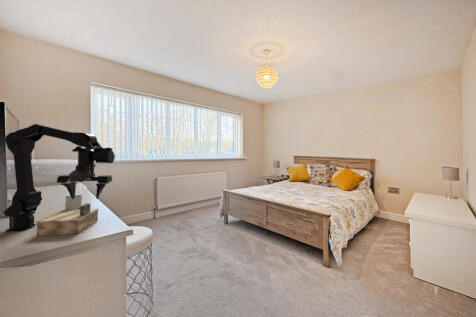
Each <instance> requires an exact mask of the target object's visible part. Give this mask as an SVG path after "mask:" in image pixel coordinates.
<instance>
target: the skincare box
mask: <svg viewBox="0 0 476 317" xmlns="http://www.w3.org/2000/svg"><path fill="white" fill-rule="evenodd" d="M82 205H83V193H81V192H80V193H75V198H74V199H72V198H71V196H70V194H69V193H67V194H65V205H64V206H65V207H64V210H77V209H80V206H82Z"/></svg>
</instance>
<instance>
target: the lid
mask: <svg viewBox="0 0 476 317" xmlns="http://www.w3.org/2000/svg"><path fill="white" fill-rule="evenodd" d="M96 211H98V212H99V211H100V210H99V208H91V203H84V204H82V206H80V209H77V210H65V209H62V210H60V211H58V212H55V213H52V214H51V215H48V216H45V217H43V218H41V219H38V220H36V221H35V224H37V223H49V222H76V221H81V220H82V219H84V218H86V217H88V216H89V215H91V214H93V213H95V212H96Z"/></svg>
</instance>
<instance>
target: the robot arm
mask: <svg viewBox="0 0 476 317" xmlns="http://www.w3.org/2000/svg"><path fill="white" fill-rule="evenodd" d="M44 136H47V137H50V138H51V137H52V138H55V139H60V140H65V141H68V142H70V143H71V144H73V145H76V147H75V148H73V149H72V150H71V151H72V153H73V152H74V153H75V152H76V153H77V165H75V169H74V170H72V171H71V172H69V174H61V175H58V176H57V177H56V184H57V183H59V184H60V185H61V186H64V187H66V190H67V191H68V194H70V196H71V198H72V199H74V198H75V194H76V186H77V182H78V183H83V182H97V183H96V192H95V193H96V194H95V195H96V199H97V200H98V199H100V196H101V194H102V192H103V190H104V188H105V187H106V185H108V184H109V183H111V182H112V181H113V177H112V175H111V174H105V175H103V174H102V175H98V176H96V173H95V168H96V167H97V166H96V164H113V163H114V162H115V159H116V158H115V156H116V155H115V152H114V151H113V148H112V147H102V145H101V144H100V142H98V139H97V137H96V135H94V134H92V133H86V132H78V131H77V132H76V131H68V130H64V129H59V128H54V127H51V126H47V125H46V124H45V125H44V124H40V123H39V124H38V123H34V124H32V125H30V126H28V127H24V128H20V129H18V130H16V131H13V132H9V133H8V134H7V135H5V139H4V141H5V144H6V147H7V149H8V150H9V152H11V154H12V155H13V164H14V174H15V185H16V191H15V193H14V194H13V196H12V199H11V205H9V206H8V207H7V208H6V209H5V210H3V214H4V216H5V217H8V218H9V219H8V221H9V223H8V224H9V228H6V229H5V232H15V231H16V232H17V231H25V230H29V229H30V228H33V227H34V226H37V223H35V215H34V212H36V211H37V210H38V207H39V206H40V205H41V203H42V201H43V198H42V191H41V190H39V191H38V190H37V189H36V188H35V187H34V185H35V184H34V176H33V174H34V173H33V165H32V152H34V150H35V146H36V143H37V142H38V141H40V140H42V138H43V137H44ZM95 163H96V164H95Z"/></svg>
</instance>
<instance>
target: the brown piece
mask: <svg viewBox="0 0 476 317" xmlns="http://www.w3.org/2000/svg"><path fill="white" fill-rule="evenodd" d="M97 222H99V210H98V211H96V212H95V213H93V214H91V215H89V216H88V217H86V218H84V219H82V220H81V221H76V222H49V223H36V237H45V236H46V237H47V236H64V235H66V236H67V235H79V234H81V233H83V232H84V231H86V230H87V229H88V228H90V227H91V226H93V225H94V224H96V223H97Z"/></svg>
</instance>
